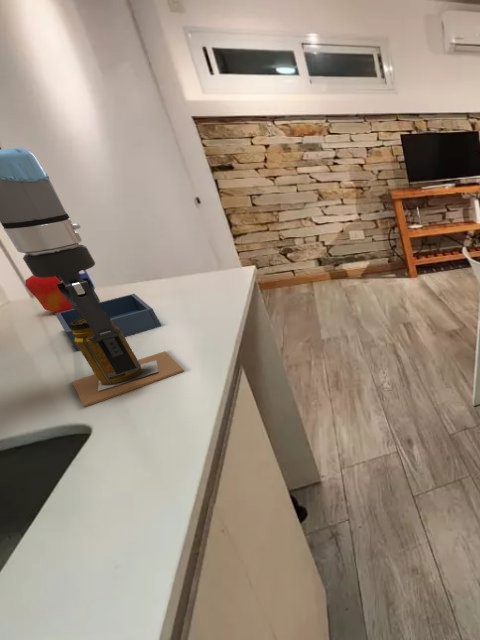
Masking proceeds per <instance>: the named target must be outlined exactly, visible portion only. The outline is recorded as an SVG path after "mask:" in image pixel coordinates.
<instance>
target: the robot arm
mask: <svg viewBox="0 0 480 640" xmlns="http://www.w3.org/2000/svg"><path fill="white" fill-rule="evenodd" d="M72 222H73V221H72V220H71V217H70V215H69V214H68V212H67V211H66V210H65V208H64V206H63V203H62V201H61V199H60V198H59V196H58V194H57V192H56V190H55V188H54V185H53V184H52V182H51V179H50V176H49V174H48V173H47V172H46V171H45V170H44V168H43V167H42V165H41V164H40V162H39V160H38V159H37V157H36V156H35V155H34V154H33V153H32V152H31V151H30V150H28V149H26V148H21V147H16V148H3V149H2V148H1V149H0V224H1V226H2V227H3V230H4V232H5V233H6V235H7V237H8V238H9V240H10V241H11V243H12V244H13V246H14V248H15V250H16V251H17V252H18V253H22V254H24V255H23V257H22V261H24V263H25V264H26V266H27V268H28V269H29V271H30V273H31V274H32V275H34V276H35V277H38V278H49V277H54V276H56V277H57V278H59V280H60V282H61V283H60V284H56V285H57V287H58V289H59V290H60V292H61V293H62V294H63V296H64V297H66V298H67V300H68V301H69V302H70V304H71V305H72V307H73V308H74V309H77V311H78V315H80V316H81V318H84V319H85V320H86V322H87V323H88V325H89V327H90V328H91V330H92V332H93V333H94V335H95V337H94V338H91V339H90V340H91V341H92V343H96V342H98V344H99V346H100V347H101V349H102V351H103V352H104V354H105V356H106V357H107V359H108V361H109V362H110V364H111V366H112V367H113V369H114V371H115V372H116V374H120V373H123V372H126V371H129V370H132V369H135V368H137V367H136V366H135V364H134V362H133V360H132V359H131V357H130V355H129V353H128V352H127V350H126V348H125V346H124V345H123V343H122V341H121V339H120V338H119V336H118V332H117V331H116V330H115V329H114V328H113V326H112V324H111V323H110V321H109V319H108V318H107V316H106V313H105V312H104V311H103V309H102V308H101V306H100V304H99V303H100V302H101V300H100V298H99V296H98V294H97V293H96V291H95V287H94V284H93V282H92V281H91V280H90V279H89V278H88V277H83V278H82V276H81V275H80V272H82V271H87V270H89V269H91V268H93V267H94V266H95V265H96V261H95V260H94V258H93V256H92V254H91V253H90V251H89V249H88V247H87V246H85V245H84V244H80V243H82V241H83V239H82V237H81V235H80V234H79V232H78V231H76V230H80V229H81V225H80V224H79V223H75V222H74V223H72ZM103 330H107V331H103ZM100 331H103V332H100ZM99 332H100V333H99Z"/></svg>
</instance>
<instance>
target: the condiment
mask: <svg viewBox="0 0 480 640" xmlns="http://www.w3.org/2000/svg"><path fill="white" fill-rule="evenodd" d="M106 316H107V318H108V319H109V321H110V323H111V324H112V326H113V328H114V329H115V330H116V331H117V332H118V336H119V338H120V339H121V341H122V343H123V345H124V346H125V348H126V350H127V352H128V353H129V355H130V357H131V359H132V360H133V362H134V364H135V366H136V367H137V368H135V369H132V370H129V371H126V372H123V373H120V374H116V372H115V371H114V369H113V367H112V366H111V364H110V362H109V361H108V359H107V357H106V356H105V354H104V352H103V351H102V349H101V347H100V346H99V344H98V342H96V343H92V341H91V340H90V339H91V338H94V337H95V335H94V333H93V332H92V330H91V328H90V327H89V325H88V323H87V322H86V320H85V319H84V318H81V319H78V320H75V321H73V322H71V323H70V325H69V328H70V329H71V330H72V332H73V335H75V336H76V337H75V343H76V345H77V346H78V347H79V349H80V350H79V351H80V352H81V354H82V356H83V357H84V359H85V360H86V362H87V364H88V365H89V367H90V368H91V370H92V372H93V373H94V374H95V375H96V376H97V378H98V379H99V385H98V391H100V390H103V389H106V388H110V387H113V386H117V385H120V384H123V383H126V382H128V381H131V380H133V379H137V378H140V377H144V376H147V375H149V374H152V373H156V372H158V367H157V362H156V360H155V361H151V362H148V363H145V364H141V365H140V363H139V362H138V360H139V359H138V358H137V356H136V354H135V352H134V351H133V350H132V347H131V346H130V344H129V343H128V340H127V339H126V337H124V335H123V334H122V332H121V330H120V329H119V328H118V327H116V326H114V323H113V322H112V321H111V319H110V316H108V315H107V314H106ZM103 331H107V330H103ZM103 331H100V332H103ZM100 332H99V333H100Z"/></svg>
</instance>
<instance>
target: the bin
mask: <svg viewBox="0 0 480 640" xmlns="http://www.w3.org/2000/svg"><path fill="white" fill-rule="evenodd" d="M99 304H100V306H101V308H102V309H103V311H104V312H105V313H106V314H107V315H108V316H110V319H111V321H112V322H113V323H114V326H116V327H118V328H119V329H120V330H121V332H122V334H123V335H124V337H125V338H126V337H129V336H132V335H135V334H139V333H142V332H145V331H149V330H153V329H155V328H159V327H161V326H162V324H161V322H160V320H159V318H158V316H157V315H156V313H155V310H154V308H153V307H151V306H150V305H149V304H148V303H147V302H146V301H144V300H143V299H141V298H140V296H138V295H137V294H136V293H131V294H127V295H122V296H119V297H114V298H111V299H107V300H103V301H100V303H99ZM54 315H55V317H56V319H57V320H58V322H59V324H60V325H61V328H62V329H63V330H64V332H65V334H66V335H67V338H68V339H69V340H70V342H71V343H72V345H73V347H74V348H75V350H76V351H77V352H78V351H81V350H80V349H79V347H78V346H77V345H76V343H75V337H76V336H75V335H73V332H72V330H71V329H70V328H69V325H70V323H71V322H73V321H75V320H78V319H81V316H80V315H78V311H77V309H71V310H67V311H63V312H60V313H55V312H54Z"/></svg>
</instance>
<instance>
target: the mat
mask: <svg viewBox="0 0 480 640" xmlns="http://www.w3.org/2000/svg"><path fill="white" fill-rule="evenodd" d="M137 360H138V362H139V363H140V365H141V364H145V363H148V362H151V361H155V360H156V362H157V367H158V372H156V373H152V374H149V375H147V376H144V377H140V378H137V379H133V380H131V381H128V382H126V383H123V384H120V385H117V386H113V387H110V388H106V389H103V390H100V391H98V385H99V379H98V378H97V376H96V375H95V373H94V374H92V375H89V376H86V377H83V378H79V379H75V380H73V381H72V382H71V383H72V385H73V387H74V390H75V391H76V394H77V395H78V398H79V399H80V402H81V404H82V405H83V407H84V408H86V407H89V406H92V405H94V404H97V403H100V402H104V401H106V400H108V399H112V398H115V397H117V396H120V395H123V394H126V393H128V392H131V391H133V390H137V389H140V388H142V387H146V386H148V385H150V384H153V383H156V382H159V381H162V380H164V379H167V378H170V377H173V376H176V375H178V374H182V373H184V372H185V370H184V369H183V367H181V365H180V364H178V363H177V361H176V360H175V359H174V358H173V357H171V356H170V355H169V354H168V352H166V351H165V350H164V351H162V352H158V353H156V354H152V355H149V356H146V357H144V358H141V359H137Z"/></svg>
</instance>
